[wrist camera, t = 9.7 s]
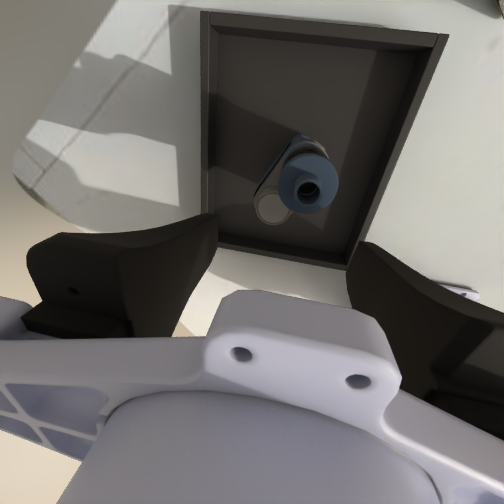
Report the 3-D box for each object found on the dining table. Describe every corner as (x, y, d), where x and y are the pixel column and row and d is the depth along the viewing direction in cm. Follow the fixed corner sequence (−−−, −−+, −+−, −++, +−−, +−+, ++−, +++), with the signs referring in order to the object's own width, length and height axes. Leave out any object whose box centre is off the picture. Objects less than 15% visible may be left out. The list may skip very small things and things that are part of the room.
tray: (429, 45, 15) (450, 34, 13) (346, 257, 23) (351, 272, 21) (212, 23, 16) (199, 10, 14) (209, 233, 25) (201, 244, 22)
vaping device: (326, 146, 18) (362, 189, 8) (282, 197, 21) (267, 278, 11) (301, 124, 18) (305, 138, 8) (259, 179, 20) (221, 245, 10)
